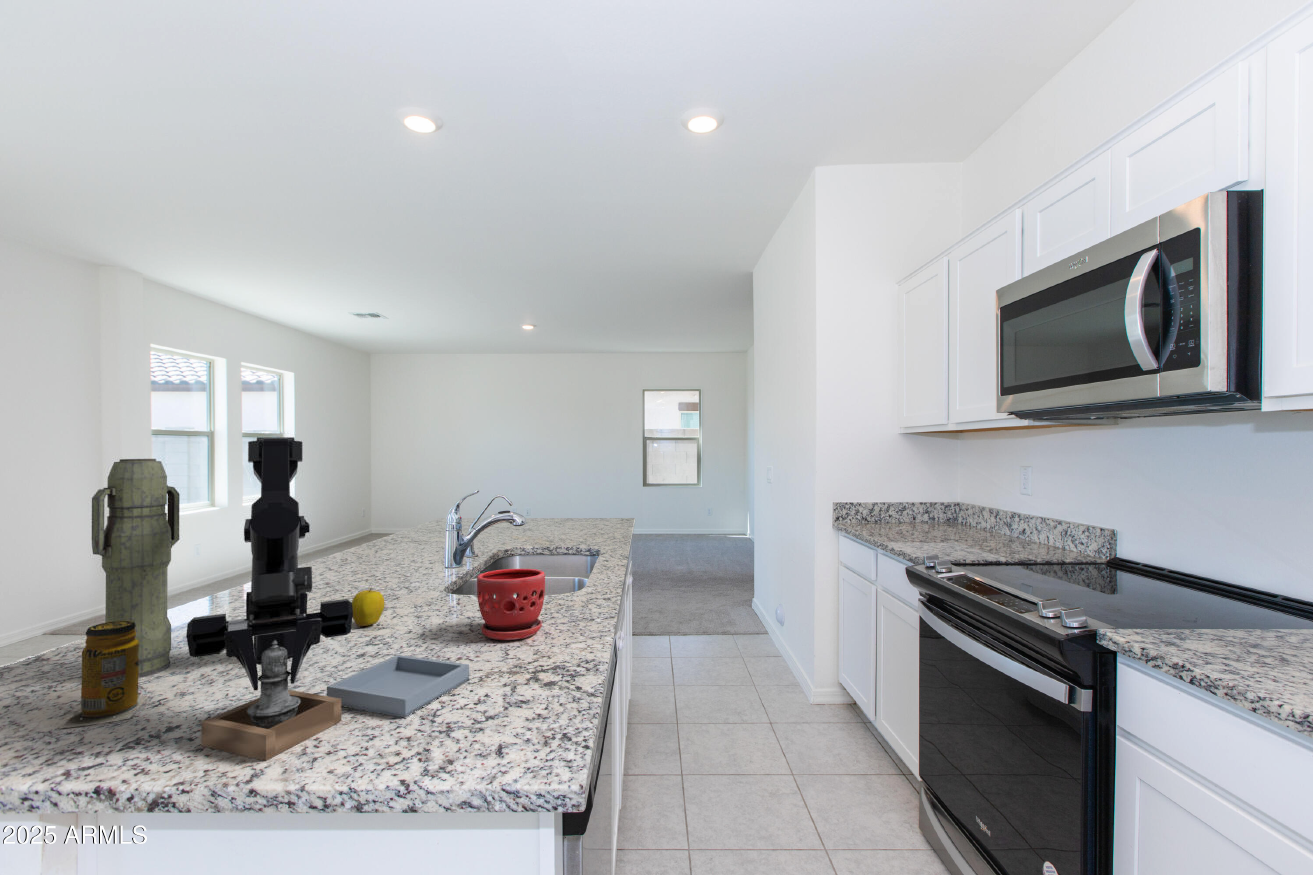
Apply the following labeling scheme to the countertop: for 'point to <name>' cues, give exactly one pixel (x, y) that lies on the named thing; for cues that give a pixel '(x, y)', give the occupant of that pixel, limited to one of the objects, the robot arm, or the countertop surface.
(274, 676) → the salt shaker
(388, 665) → the tray
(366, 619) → the apple
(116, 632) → the condiment
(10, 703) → the countertop surface
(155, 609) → the thermos
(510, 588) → the plant pot
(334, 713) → the socket block
